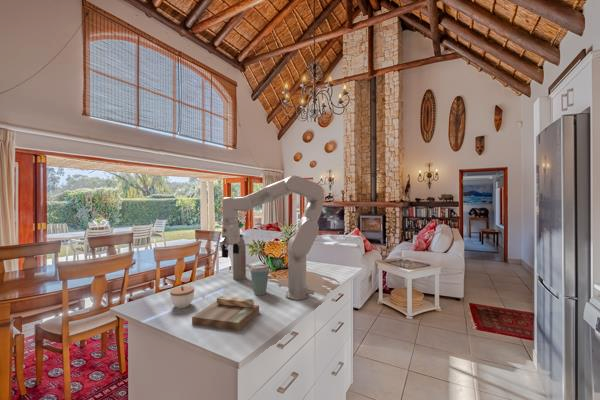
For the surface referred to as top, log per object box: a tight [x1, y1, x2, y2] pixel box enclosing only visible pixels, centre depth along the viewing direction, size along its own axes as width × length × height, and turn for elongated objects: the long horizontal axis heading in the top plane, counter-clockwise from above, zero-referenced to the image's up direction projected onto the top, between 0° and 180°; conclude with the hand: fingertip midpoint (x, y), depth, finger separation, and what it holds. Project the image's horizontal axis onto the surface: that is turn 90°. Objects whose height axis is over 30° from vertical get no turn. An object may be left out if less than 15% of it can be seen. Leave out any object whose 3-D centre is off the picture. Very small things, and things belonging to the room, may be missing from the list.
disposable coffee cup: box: [250, 264, 271, 296], centre depth 149 cm, size 11×11×15 cm
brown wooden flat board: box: [191, 300, 260, 331], centre depth 119 cm, size 22×18×3 cm
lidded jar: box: [169, 285, 195, 309], centre depth 132 cm, size 11×11×9 cm
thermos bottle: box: [232, 234, 247, 281], centre depth 176 cm, size 8×8×28 cm
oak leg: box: [216, 295, 255, 308], centre depth 124 cm, size 17×3×3 cm, turn 74°
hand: (230, 255), depth 138 cm, fingers open, 9 cm apart
